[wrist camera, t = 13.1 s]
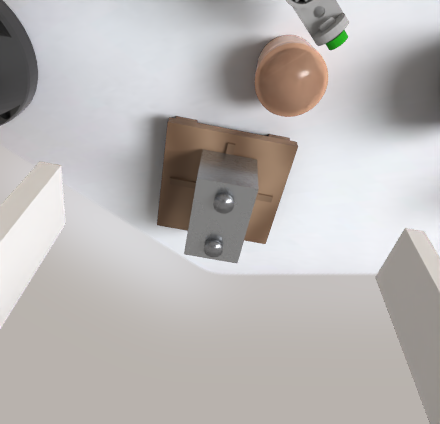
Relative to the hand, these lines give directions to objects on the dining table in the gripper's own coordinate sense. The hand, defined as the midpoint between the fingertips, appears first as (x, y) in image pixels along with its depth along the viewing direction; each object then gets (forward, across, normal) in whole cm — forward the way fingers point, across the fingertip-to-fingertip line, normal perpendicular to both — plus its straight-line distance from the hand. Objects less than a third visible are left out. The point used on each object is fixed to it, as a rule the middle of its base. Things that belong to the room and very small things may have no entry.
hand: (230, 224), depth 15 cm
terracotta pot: (+29, +5, -1) cm, 29 cm away
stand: (+29, +1, -15) cm, 32 cm away
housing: (+25, +1, -15) cm, 30 cm away
